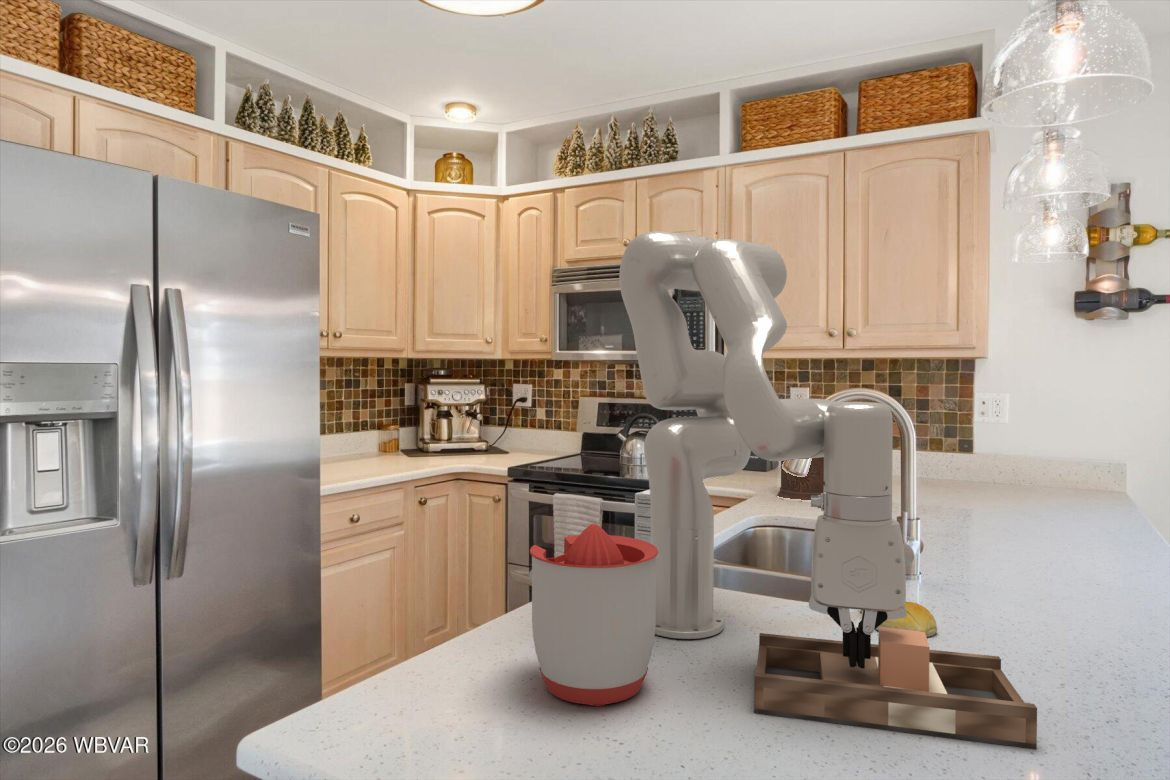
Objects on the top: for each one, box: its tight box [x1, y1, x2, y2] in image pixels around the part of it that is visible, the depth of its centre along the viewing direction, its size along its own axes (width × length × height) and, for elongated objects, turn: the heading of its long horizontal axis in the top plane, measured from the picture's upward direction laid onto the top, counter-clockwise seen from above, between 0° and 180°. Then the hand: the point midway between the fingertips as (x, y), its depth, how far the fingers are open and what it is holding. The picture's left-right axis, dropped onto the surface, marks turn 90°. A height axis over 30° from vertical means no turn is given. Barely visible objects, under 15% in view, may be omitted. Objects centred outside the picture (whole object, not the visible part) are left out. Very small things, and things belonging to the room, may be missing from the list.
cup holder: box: [776, 457, 824, 500], centre depth 222 cm, size 18×24×25 cm
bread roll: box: [875, 601, 938, 638], centre depth 107 cm, size 8×9×4 cm
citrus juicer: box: [528, 523, 658, 707], centre depth 88 cm, size 16×17×20 cm
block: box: [877, 627, 930, 692], centre depth 82 cm, size 5×5×5 cm
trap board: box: [753, 632, 1038, 750], centre depth 83 cm, size 28×14×4 cm, turn 74°
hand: (856, 663), depth 84 cm, fingers closed
